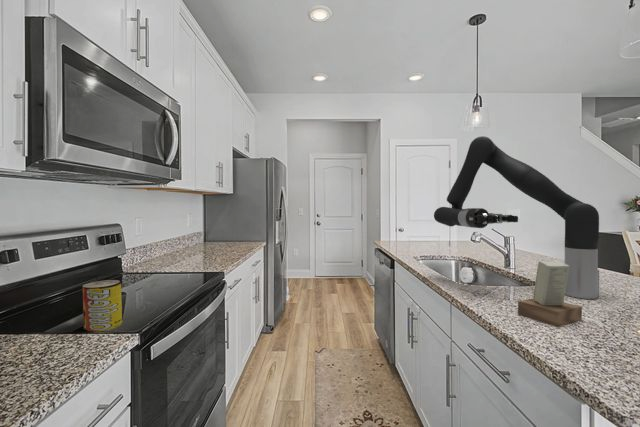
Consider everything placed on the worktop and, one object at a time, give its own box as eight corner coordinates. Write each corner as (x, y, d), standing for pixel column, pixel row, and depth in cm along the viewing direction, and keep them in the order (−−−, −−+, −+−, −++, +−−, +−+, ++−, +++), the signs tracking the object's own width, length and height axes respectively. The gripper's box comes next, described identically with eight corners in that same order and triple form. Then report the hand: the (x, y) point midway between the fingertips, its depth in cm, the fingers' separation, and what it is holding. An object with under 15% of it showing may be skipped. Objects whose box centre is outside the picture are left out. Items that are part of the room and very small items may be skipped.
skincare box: (552, 298, 96) (559, 260, 93) (563, 306, 92) (571, 265, 89) (531, 298, 96) (537, 260, 93) (541, 305, 92) (548, 265, 89)
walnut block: (541, 311, 101) (541, 296, 101) (581, 322, 91) (581, 306, 91) (517, 315, 97) (518, 301, 97) (556, 328, 87) (557, 312, 86)
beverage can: (79, 326, 90) (78, 284, 90) (116, 318, 97) (115, 278, 97) (88, 334, 84) (87, 289, 84) (126, 325, 91) (125, 283, 91)
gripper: (457, 208, 123) (489, 208, 107) (488, 208, 127) (524, 208, 111) (457, 228, 123) (489, 231, 107) (488, 227, 127) (524, 229, 111)
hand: (507, 219), depth 109 cm, fingers open, 8 cm apart
